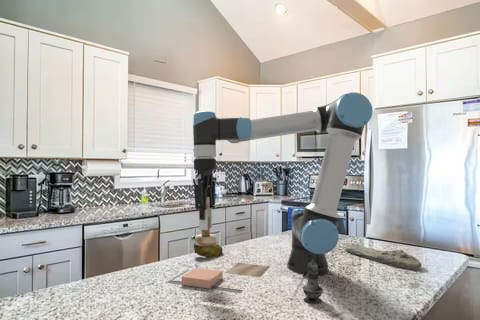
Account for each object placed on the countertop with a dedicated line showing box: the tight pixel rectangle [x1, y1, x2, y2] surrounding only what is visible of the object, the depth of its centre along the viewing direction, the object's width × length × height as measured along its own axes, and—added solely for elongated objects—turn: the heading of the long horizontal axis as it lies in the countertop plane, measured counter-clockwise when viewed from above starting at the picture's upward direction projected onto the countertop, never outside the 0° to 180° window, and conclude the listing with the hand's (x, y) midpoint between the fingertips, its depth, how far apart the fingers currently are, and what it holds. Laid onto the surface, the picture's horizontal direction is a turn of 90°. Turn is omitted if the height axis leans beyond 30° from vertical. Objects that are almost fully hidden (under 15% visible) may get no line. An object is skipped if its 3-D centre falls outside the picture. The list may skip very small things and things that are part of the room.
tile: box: [181, 267, 223, 290], centre depth 112 cm, size 10×3×10 cm
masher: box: [194, 197, 217, 246], centre depth 113 cm, size 7×7×16 cm
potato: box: [193, 242, 224, 259], centre depth 144 cm, size 8×13×8 cm, turn 105°
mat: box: [166, 269, 244, 294], centre depth 113 cm, size 26×14×1 cm, turn 70°
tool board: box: [225, 262, 271, 278], centre depth 125 cm, size 13×13×1 cm
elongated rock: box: [344, 244, 422, 270], centre depth 142 cm, size 35×5×10 cm
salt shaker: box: [302, 259, 324, 305], centre depth 99 cm, size 6×6×12 cm
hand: (205, 228), depth 113 cm, fingers closed on masher, 3 cm apart
